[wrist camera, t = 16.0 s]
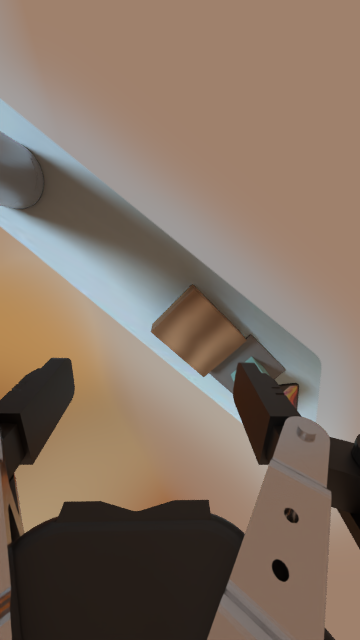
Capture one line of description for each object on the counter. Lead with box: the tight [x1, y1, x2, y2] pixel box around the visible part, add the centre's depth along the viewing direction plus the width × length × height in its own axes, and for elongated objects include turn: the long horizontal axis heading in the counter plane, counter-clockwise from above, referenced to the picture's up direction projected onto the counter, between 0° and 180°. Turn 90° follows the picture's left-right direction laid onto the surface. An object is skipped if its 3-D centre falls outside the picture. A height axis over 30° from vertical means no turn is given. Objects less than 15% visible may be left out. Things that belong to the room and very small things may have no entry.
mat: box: [209, 334, 285, 393], centre depth 49 cm, size 12×12×1 cm
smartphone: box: [279, 383, 299, 410], centre depth 53 cm, size 8×1×15 cm
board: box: [151, 284, 247, 377], centre depth 43 cm, size 14×11×4 cm
